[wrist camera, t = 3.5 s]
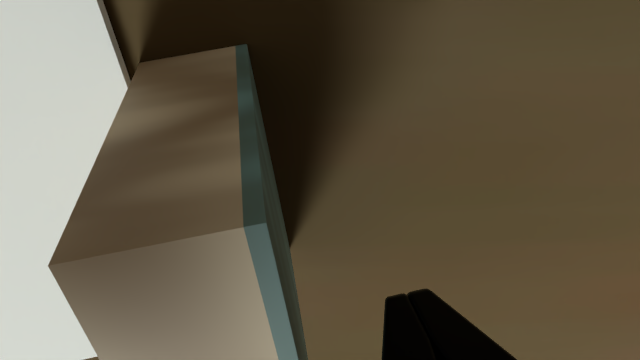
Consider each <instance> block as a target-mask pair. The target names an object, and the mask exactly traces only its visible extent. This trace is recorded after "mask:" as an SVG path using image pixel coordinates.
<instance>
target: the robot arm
mask: <svg viewBox="0 0 640 360" xmlns="http://www.w3.org/2000/svg"><path fill="white" fill-rule="evenodd" d="M382 360H517V359H516V358H514V357H513V356H512V355H511V354H509V353H508V352H507V351H506V350H504V349H503V348H502V347H501V346H499V345H498V344H497V343H496V342H494V341H493V340H492V339H491V338H489V337H488V336H487V335H486V334H484V333H483V332H482V331H481V330H479V329H478V328H477V327H476V326H474V325H473V324H472V323H471V322H469V321H468V320H467V319H466V318H464V317H463V316H462V315H461V314H459V313H458V312H457V311H456V310H454V309H453V308H452V307H451V306H449V305H448V304H447V303H446V302H444V301H443V300H442V299H441V298H439V297H438V296H437V295H436V294H434V293H433V292H432V291H430V290H429V289H421V290H416V291H412V292H409V293H408V294H407V295H406V294H398V295H393V296H389V297H387V298H386V299H385V312H384V330H383V347H382Z"/></svg>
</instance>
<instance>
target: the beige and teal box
mask: <svg viewBox="0 0 640 360" xmlns="http://www.w3.org/2000/svg"><path fill="white" fill-rule="evenodd" d="M48 267H49V269H50V271H51V272H52V274H53V276H54V278H55V280H56V282H57V283H58V285H59V287H60V289H61V291H62V292H63V294H64V296H65V298H66V300H67V302H68V303H69V305H70V307H71V309H72V311H73V312H74V314H75V316H76V318H77V320H78V321H79V323H80V325H81V327H82V329H83V331H84V332H85V334H86V336H87V338H88V340H89V341H90V343H91V345H92V347H93V349H94V351H95V352H96V354H97V356H98V358H99V360H308V357H307V351H306V345H305V339H304V333H303V327H302V321H301V315H300V308H299V302H298V296H297V290H296V284H295V278H294V272H293V266H292V260H291V253H290V248H289V243H288V238H287V233H286V229H285V224H284V219H283V214H282V210H281V205H280V200H279V195H278V191H277V186H276V181H275V176H274V171H273V167H272V162H271V157H270V152H269V148H268V143H267V138H266V133H265V129H264V124H263V119H262V114H261V110H260V105H259V100H258V95H257V91H256V86H255V81H254V76H253V72H252V67H251V62H250V57H249V52H248V48H247V44H243V45H238V46H232V47H226V48H221V49H215V50H209V51H204V52H198V53H192V54H187V55H181V56H175V57H170V58H164V59H158V60H153V61H147V62H141V63H139V65H138V67H137V69H136V71H135V74H134V76H133V78H132V80H131V83H130V85H129V87H128V89H127V91H126V94H125V96H124V98H123V100H122V103H121V105H120V107H119V109H118V111H117V114H116V116H115V118H114V120H113V122H112V125H111V127H110V129H109V131H108V134H107V136H106V138H105V140H104V142H103V145H102V147H101V149H100V151H99V154H98V156H97V158H96V160H95V162H94V165H93V167H92V169H91V171H90V174H89V176H88V178H87V180H86V182H85V185H84V187H83V189H82V191H81V193H80V196H79V198H78V200H77V202H76V205H75V207H74V209H73V211H72V213H71V216H70V218H69V220H68V222H67V225H66V227H65V229H64V231H63V233H62V236H61V238H60V240H59V242H58V245H57V247H56V249H55V251H54V253H53V256H52V258H51V260H50V262H49V265H48Z"/></svg>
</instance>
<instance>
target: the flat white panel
mask: <svg viewBox="0 0 640 360" xmlns="http://www.w3.org/2000/svg"><path fill="white" fill-rule="evenodd" d="M130 83H131V80H130V78H129V75H128V72H127V69H126V66H125V63H124V60H123V57H122V54H121V52H120V49H119V46H118V43H117V40H116V37H115V34H114V31H113V29H112V26H111V23H110V20H109V17H108V14H107V11H106V8H105V5H104V3H103V0H0V360H82V359H87V358H92V357H96V356H97V354H96V352H95V351H94V349H93V347H92V345H91V343H90V341H89V340H88V338H87V336H86V334H85V332H84V331H83V329H82V327H81V325H80V323H79V321H78V320H77V318H76V316H75V314H74V312H73V311H72V309H71V307H70V305H69V303H68V302H67V300H66V298H65V296H64V294H63V292H62V291H61V289H60V287H59V285H58V283H57V282H56V280H55V278H54V276H53V274H52V272H51V271H50V269H49V267H48V265H49V262H50V260H51V258H52V256H53V253H54V251H55V249H56V247H57V245H58V242H59V240H60V238H61V236H62V233H63V231H64V229H65V227H66V225H67V222H68V220H69V218H70V216H71V213H72V211H73V209H74V207H75V205H76V202H77V200H78V198H79V196H80V193H81V191H82V189H83V187H84V185H85V182H86V180H87V178H88V176H89V174H90V171H91V169H92V167H93V165H94V162H95V160H96V158H97V156H98V154H99V151H100V149H101V147H102V145H103V142H104V140H105V138H106V136H107V134H108V131H109V129H110V127H111V125H112V122H113V120H114V118H115V116H116V114H117V111H118V109H119V107H120V105H121V103H122V100H123V98H124V96H125V94H126V91H127V89H128V87H129V85H130Z"/></svg>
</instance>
